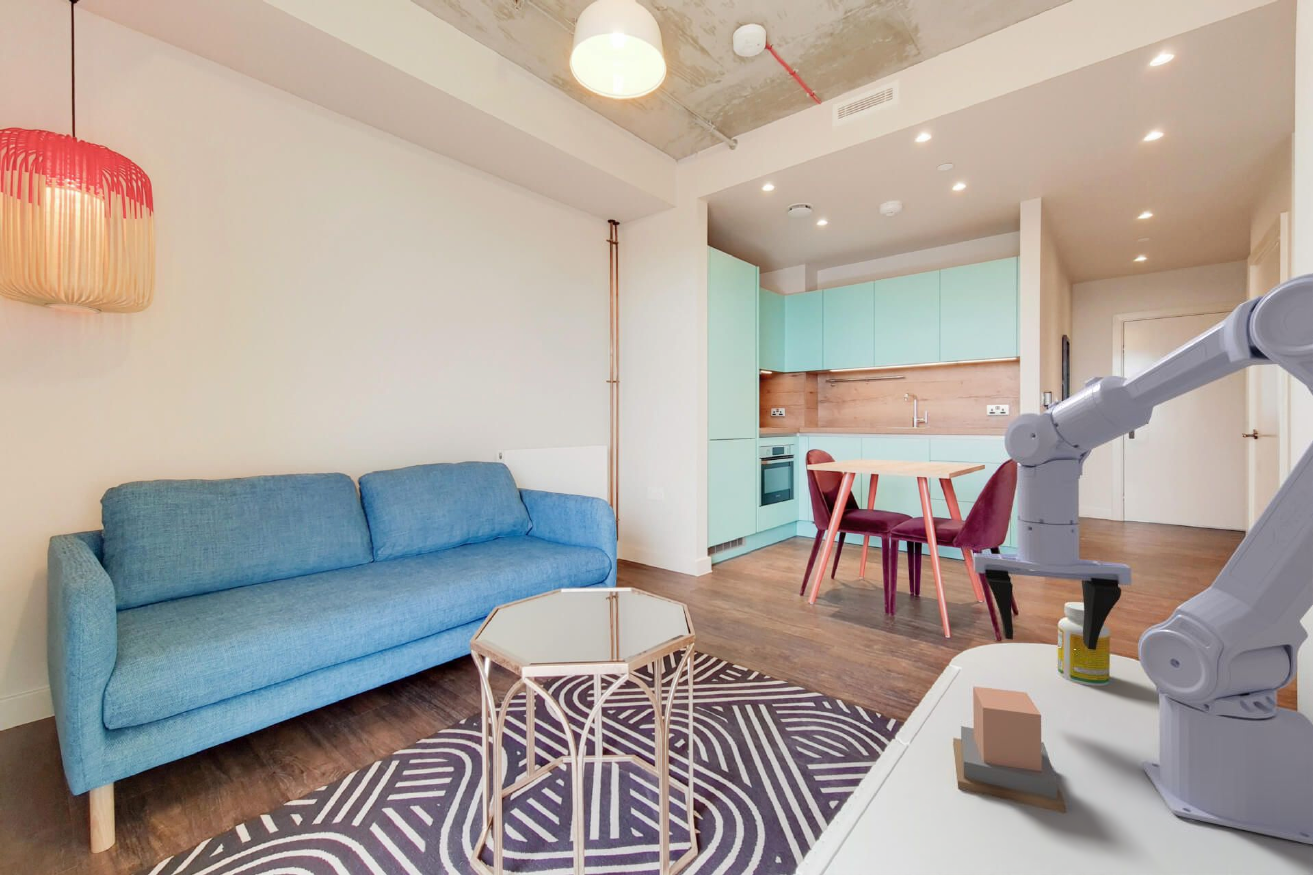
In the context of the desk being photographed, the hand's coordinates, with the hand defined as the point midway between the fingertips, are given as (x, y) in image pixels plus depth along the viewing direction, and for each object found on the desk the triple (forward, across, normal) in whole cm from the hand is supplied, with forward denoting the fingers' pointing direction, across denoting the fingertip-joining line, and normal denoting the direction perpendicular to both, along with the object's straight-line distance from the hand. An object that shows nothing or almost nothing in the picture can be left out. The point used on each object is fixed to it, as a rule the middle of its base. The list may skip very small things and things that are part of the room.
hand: (1047, 641), depth 64 cm
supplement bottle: (+9, -6, -13) cm, 17 cm away
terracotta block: (+6, +6, +15) cm, 17 cm away
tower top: (+8, +6, +15) cm, 18 cm away
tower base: (+9, +6, +15) cm, 19 cm away
